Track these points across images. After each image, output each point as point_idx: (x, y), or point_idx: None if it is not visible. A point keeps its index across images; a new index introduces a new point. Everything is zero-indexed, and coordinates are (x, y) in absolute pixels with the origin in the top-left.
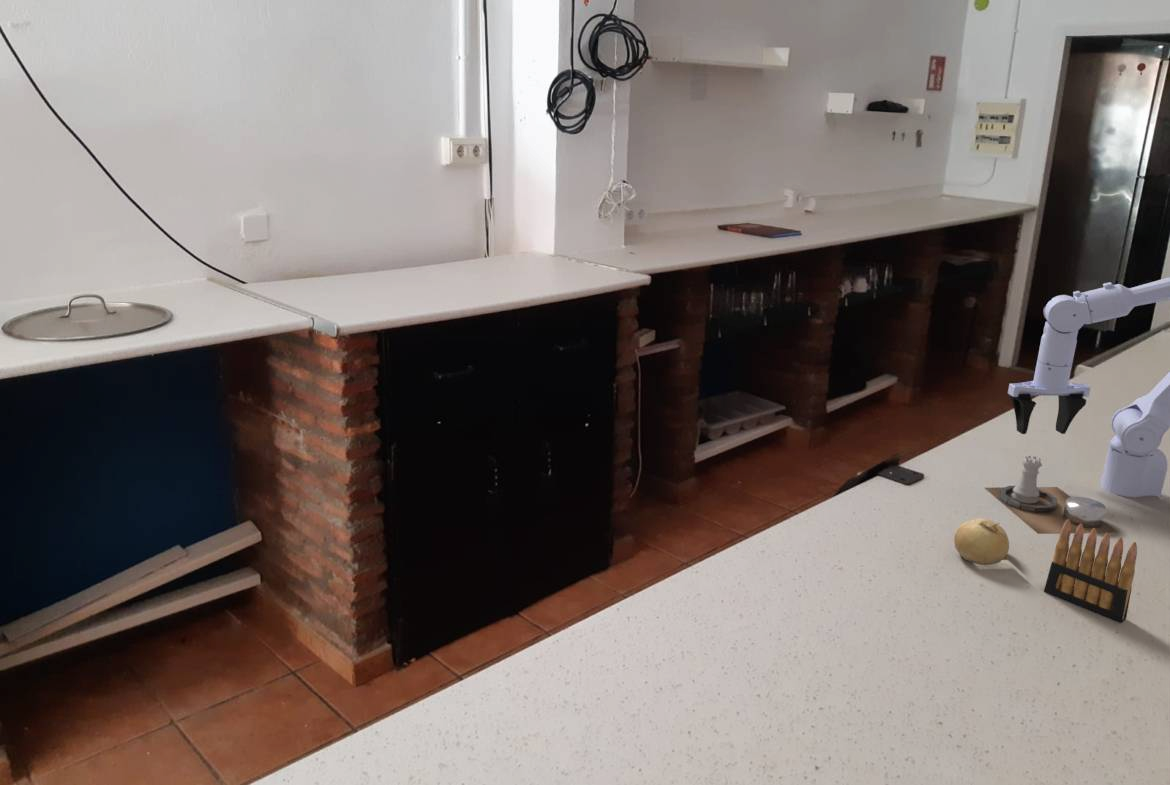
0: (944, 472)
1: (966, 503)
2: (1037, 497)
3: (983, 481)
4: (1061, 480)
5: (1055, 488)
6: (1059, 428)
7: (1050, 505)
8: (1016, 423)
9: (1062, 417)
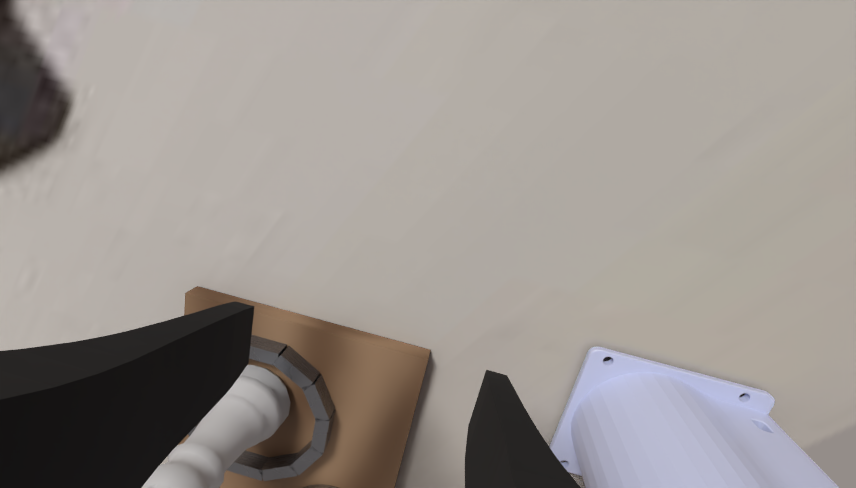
0: (152, 108)
1: (113, 326)
2: (284, 416)
3: (247, 215)
4: (530, 286)
5: (412, 366)
6: (477, 414)
7: (273, 473)
8: (201, 311)
9: (482, 482)
